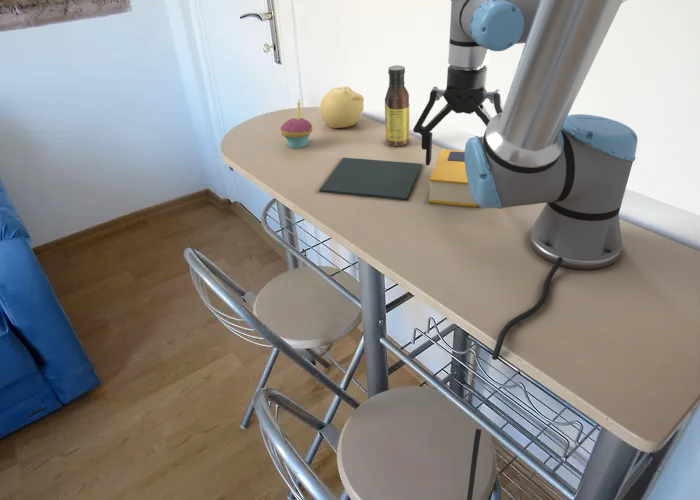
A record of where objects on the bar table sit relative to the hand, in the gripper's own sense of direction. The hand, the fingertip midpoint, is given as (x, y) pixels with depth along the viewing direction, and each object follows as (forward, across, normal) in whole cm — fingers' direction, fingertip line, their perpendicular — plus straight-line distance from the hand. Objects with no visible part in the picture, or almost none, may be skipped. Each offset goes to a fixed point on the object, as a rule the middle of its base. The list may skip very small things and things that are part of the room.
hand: (459, 165), depth 113 cm
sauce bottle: (+6, +19, -23) cm, 30 cm away
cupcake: (+6, +45, -17) cm, 48 cm away
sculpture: (+6, +38, -34) cm, 51 cm away
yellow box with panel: (+5, 0, 0) cm, 5 cm away
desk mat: (+5, +20, -1) cm, 21 cm away
